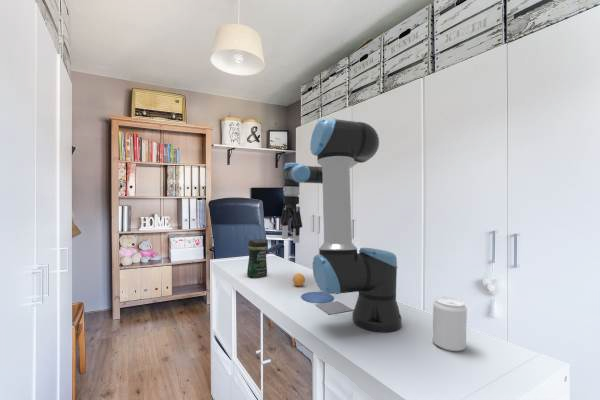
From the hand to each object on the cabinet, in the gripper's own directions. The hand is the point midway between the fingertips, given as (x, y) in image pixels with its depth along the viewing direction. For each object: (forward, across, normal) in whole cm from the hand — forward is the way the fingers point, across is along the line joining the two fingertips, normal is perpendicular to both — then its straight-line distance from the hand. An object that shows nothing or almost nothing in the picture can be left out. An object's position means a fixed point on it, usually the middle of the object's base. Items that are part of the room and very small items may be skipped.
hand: (290, 240), depth 141 cm
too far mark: (+19, +39, 0) cm, 43 cm away
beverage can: (+19, +75, +14) cm, 78 cm away
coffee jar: (+19, -14, -12) cm, 26 cm away
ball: (+16, +10, 0) cm, 19 cm away
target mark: (+19, +27, 0) cm, 33 cm away
